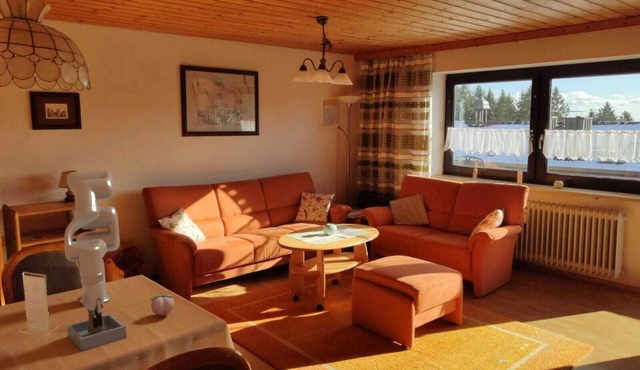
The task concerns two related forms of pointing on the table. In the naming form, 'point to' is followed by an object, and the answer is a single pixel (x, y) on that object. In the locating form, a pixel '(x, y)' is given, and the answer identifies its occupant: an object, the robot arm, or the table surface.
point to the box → (88, 340)
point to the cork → (90, 324)
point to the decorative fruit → (162, 304)
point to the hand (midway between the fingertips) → (96, 324)
